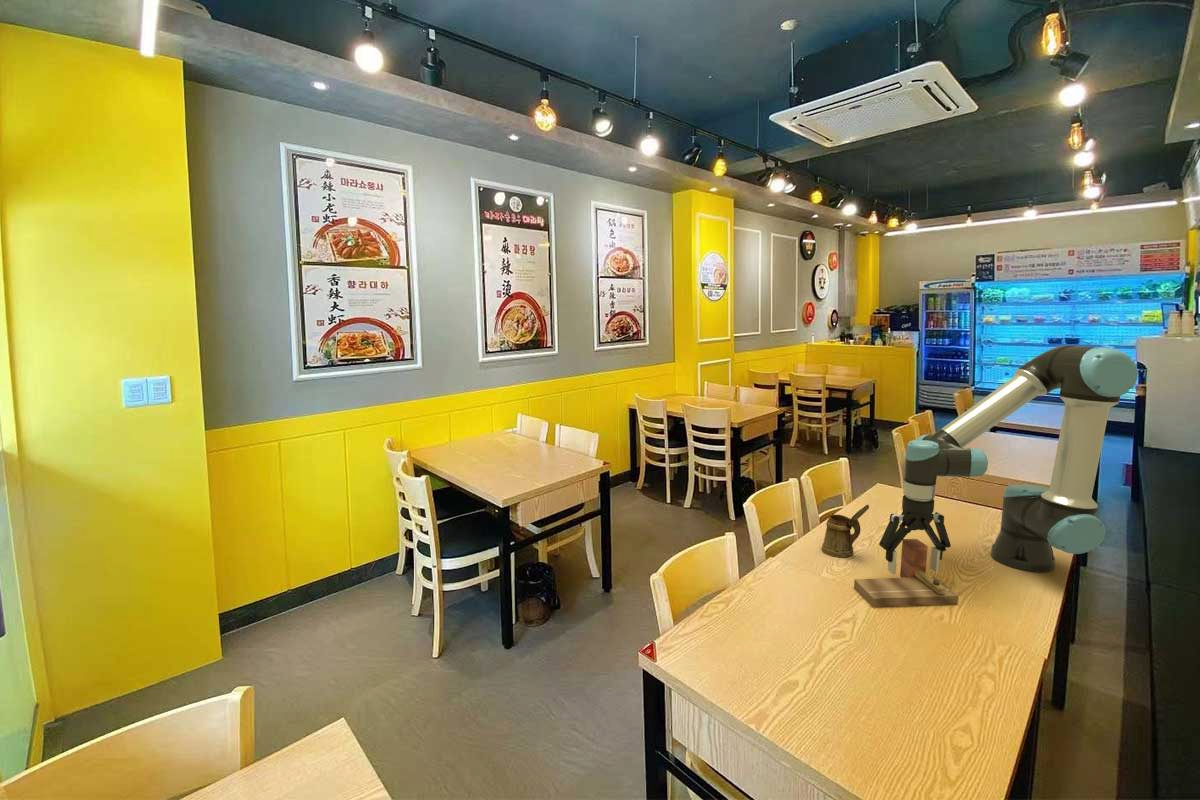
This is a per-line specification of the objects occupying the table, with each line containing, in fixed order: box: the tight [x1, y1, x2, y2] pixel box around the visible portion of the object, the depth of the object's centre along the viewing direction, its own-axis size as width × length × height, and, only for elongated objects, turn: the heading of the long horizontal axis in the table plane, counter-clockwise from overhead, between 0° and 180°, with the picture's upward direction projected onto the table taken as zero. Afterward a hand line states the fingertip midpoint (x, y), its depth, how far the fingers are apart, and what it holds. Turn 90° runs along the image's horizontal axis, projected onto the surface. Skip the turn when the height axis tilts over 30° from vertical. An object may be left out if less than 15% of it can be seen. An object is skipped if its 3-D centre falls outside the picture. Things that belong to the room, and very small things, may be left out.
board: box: [853, 576, 959, 608], centre depth 143 cm, size 22×10×3 cm, turn 91°
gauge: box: [899, 538, 946, 594], centre depth 145 cm, size 4×15×11 cm, turn 1°
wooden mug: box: [821, 504, 870, 558], centre depth 167 cm, size 9×14×18 cm, turn 37°
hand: (912, 571), depth 151 cm, fingers open, 11 cm apart
